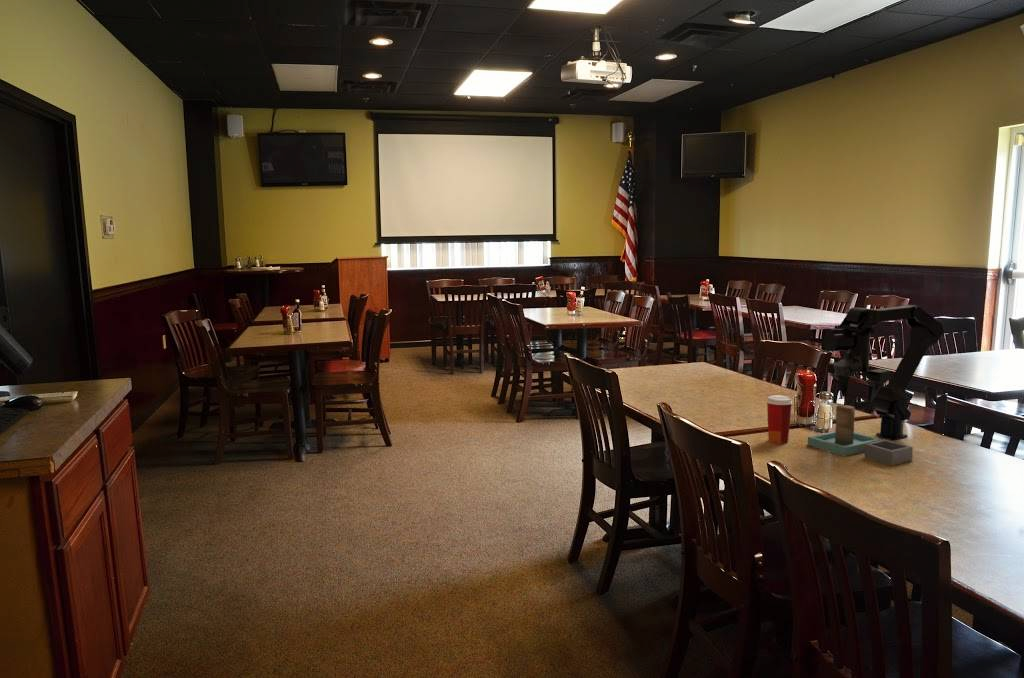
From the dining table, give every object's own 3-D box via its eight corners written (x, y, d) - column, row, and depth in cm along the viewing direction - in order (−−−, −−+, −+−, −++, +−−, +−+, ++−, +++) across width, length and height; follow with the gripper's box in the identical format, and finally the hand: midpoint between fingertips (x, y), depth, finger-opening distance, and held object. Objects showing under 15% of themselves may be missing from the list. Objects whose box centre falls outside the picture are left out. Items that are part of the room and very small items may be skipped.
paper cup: (787, 438, 226) (788, 394, 223) (794, 445, 218) (795, 400, 216) (761, 438, 226) (763, 394, 224) (768, 445, 219) (769, 400, 217)
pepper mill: (842, 439, 219) (844, 404, 217) (856, 443, 215) (858, 407, 213) (831, 442, 217) (832, 406, 215) (845, 446, 212) (846, 410, 211)
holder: (884, 452, 209) (884, 439, 208) (912, 460, 201) (912, 446, 200) (864, 457, 205) (864, 443, 204) (891, 465, 197) (892, 451, 197)
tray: (843, 436, 225) (844, 429, 225) (881, 447, 214) (881, 439, 213) (807, 444, 218) (807, 436, 218) (844, 456, 207) (844, 447, 206)
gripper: (814, 347, 222) (813, 397, 224) (868, 356, 205) (866, 409, 208) (839, 344, 227) (837, 392, 229) (893, 352, 210) (891, 404, 213)
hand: (856, 399), depth 220 cm, fingers open, 9 cm apart
